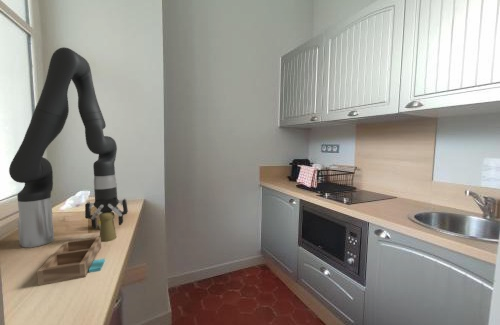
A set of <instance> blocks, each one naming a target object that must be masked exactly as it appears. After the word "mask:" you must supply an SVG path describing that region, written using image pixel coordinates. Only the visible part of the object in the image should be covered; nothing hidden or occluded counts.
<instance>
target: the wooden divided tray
mask: <svg viewBox="0 0 500 325" xmlns="http://www.w3.org/2000/svg"><path fill="white" fill-rule="evenodd" d="M101 249H102V242H101V237H100V236H98V237H92V238H85V239H77V240H76V239H75V240H71V241H64V242H63V244H61V246H59V248H58V249H57V250H56V251H55V252H54V253H53V254H52V255H51V256H50V257H49V258H48V259H47V260H46V261H45V262H44V263H43V264H42V266H41V267H40V268H38V270H37V271H36V274H37V275H36V276H37V286H43V285H49V284H54V283H59V282H64V281H65V282H66V281H70V280H71V281H72V280H76V279H81V278H86V277H87V275H88V273H93V272H98V271H99V272H100V271H101V270H102V268H103V267H104V264H105V262H106V259H105V258H100V259H96V258H97V256H98V254H99V253H100V251H101Z"/></svg>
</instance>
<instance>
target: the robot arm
mask: <svg viewBox="0 0 500 325" xmlns="http://www.w3.org/2000/svg"><path fill="white" fill-rule="evenodd" d="M45 77H46V79H45V82H44V85H43V87H42V90H41V93H40V96H39V99H38V102H37V104H36V106H35V108H34V111H33V113H32V115H31V120H30V122H29V124H28V127H27V130H26V132H25V134H24V137H23V140H22V142H21V144H20V145H19V147H18V150H17V151H16V153H15V155H14V157H13V158H12V160H11V162H10V165H9V168H8V173H9V176H10V177H11V179H12V180H13V181H14V182H16V183H20V184H24V186H23V188H22V189H21V190H20V191H19V192H18V193H17V195H16V197H17V206H18V207H17V208H18V218H19V219H18V220H17V228H18V229H17V230H18V240H19V246H21V247H22V248H26V249H27V248H35V247H40V246H44V245H47V244H49V243H52V242H53V241H54V240H55V234H54V233H55V232H54V221H53V208H52V206H53V205H52V191H53V189H54V187H53V185H54V174H53V167H52V164H51V162H50V160H49V159H47V158H46V157H43V156H44V155H45V152H46V150H47V148H48V147H49V146H50V145H51V143H52V142H53V141H54V140H55V139H56V138H57V137H58V136H59V135H60V134H61V132H62V130H63V129H64V127H65V124H66V123H67V119H68V116H69V110H70V109H69V99H68V98H69V97H68V93H69V87H70V85H71V81H72V83H73V84H74V86H75V89H76V91H77V97H78V98H77V100H78V101H77V109H78V113H79V117H80V119H81V121H82V123H83V126H84V134H85V135H84V136H85V143H86V146H87V148H88V150H89V151H90V152H91V153H93V154H95V155H98V157H97V158H98V159H97V160H95V161H94V163H93V190H94V202H90V201H88V202H86V203H85V206H84V208H85V209H84V212H85V213H84V218H85V219H89V220H91V227H92V228H93V229H95V230H96V229H97V228H98V218H97V217H98V216H99V212H102V213H104V212H111V211H112V212H113V213H114V214H117V215H118V217H117V218H118V226H122V224H123V223H124V215H127V214H128V212H129V210H128V209H129V208H128V203H127V199H126V198H123V199H118V187H117V185H118V183H117V178H116V168H115V162H116V158H117V150H118V146H117V143H116V140H115V139H114V138H113V137H112V136H107V135H105V134H104V129H105V128H106V127H107V126H106V121H105V118H104V116H103V113H102V110H101V107H100V104H99V102H98V98H97V94H96V91H95V90H96V89H95V86H94V81H93V75H92V70H91V66H90V63H89V62H88V60H86V58H85V57H83V56H82V55H80V54H79V53H77V52H76V51H74V50H73V49H71V48H69V47H65V46H64V47H63V46H62V47H60V48H57V49H56V50H55V51H54V52H53V53H52V55H51V57H50V60H49V65H48V69H47V75H46V76H45ZM119 204H120V205H121V206H122V209H123V211H122V210H121V209H120V208H119V207H118V205H119ZM93 207H95V208H96V210H95V212H94V213H93V214H91V212H92V208H93Z"/></svg>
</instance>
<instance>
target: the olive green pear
mask: <svg viewBox="0 0 500 325" xmlns="http://www.w3.org/2000/svg"><path fill="white" fill-rule="evenodd" d="M99 219H100V221H101V227H100V228H99V229H100V230H99V237H101V243H107V242H111V241H114V240H116V239H117V238H118V237H117V231H116V228H115V223H114V219H115V212H114V211H111V212H104V213H101V214H100V215H99V214H98V220H99Z"/></svg>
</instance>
